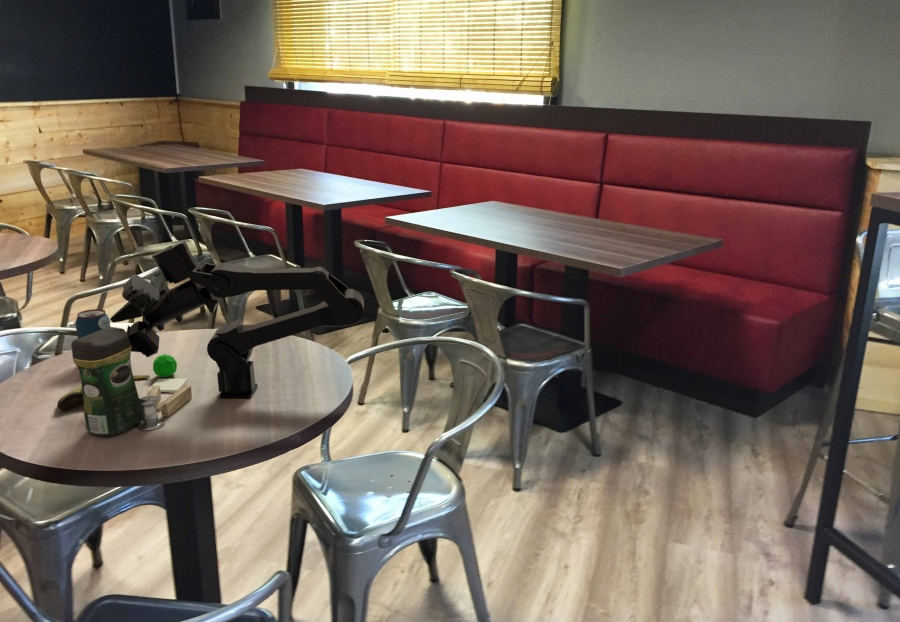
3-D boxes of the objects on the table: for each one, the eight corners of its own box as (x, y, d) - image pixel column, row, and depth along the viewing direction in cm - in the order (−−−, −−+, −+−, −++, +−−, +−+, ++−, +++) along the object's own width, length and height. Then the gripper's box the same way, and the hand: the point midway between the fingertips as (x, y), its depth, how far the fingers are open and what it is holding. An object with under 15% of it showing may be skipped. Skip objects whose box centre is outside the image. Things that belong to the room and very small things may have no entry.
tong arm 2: (192, 397, 150) (190, 385, 149) (162, 421, 140) (161, 408, 139) (185, 397, 150) (184, 385, 149) (155, 420, 140) (154, 407, 139)
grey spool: (168, 419, 141) (165, 394, 139) (159, 430, 136) (156, 404, 135) (143, 419, 141) (139, 394, 139) (133, 430, 136) (129, 404, 135)
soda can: (121, 361, 169) (114, 311, 166) (93, 371, 164) (85, 319, 160) (103, 355, 173) (96, 306, 170) (75, 364, 168) (67, 314, 164)
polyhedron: (162, 371, 164) (160, 350, 163) (182, 372, 163) (180, 352, 162) (149, 379, 159) (146, 358, 158) (169, 381, 158) (167, 360, 157)
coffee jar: (119, 412, 143) (103, 321, 138) (151, 418, 140) (136, 325, 135) (78, 434, 135) (59, 337, 129) (110, 441, 132) (93, 342, 126)
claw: (88, 417, 142) (85, 401, 141) (42, 413, 144) (39, 396, 143) (150, 381, 160) (148, 366, 160) (108, 377, 163) (106, 362, 162)
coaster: (187, 381, 158) (186, 378, 158) (177, 392, 153) (177, 389, 153) (159, 381, 158) (158, 378, 158) (148, 392, 153) (148, 390, 152)
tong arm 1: (161, 397, 150) (159, 385, 149) (152, 420, 140) (150, 407, 139) (153, 397, 150) (152, 385, 149) (144, 421, 139) (142, 408, 139)
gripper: (157, 245, 148) (88, 279, 149) (151, 300, 134) (75, 336, 134) (189, 285, 155) (123, 316, 156) (187, 340, 141) (114, 375, 141)
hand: (109, 334), depth 147 cm, fingers open, 9 cm apart
